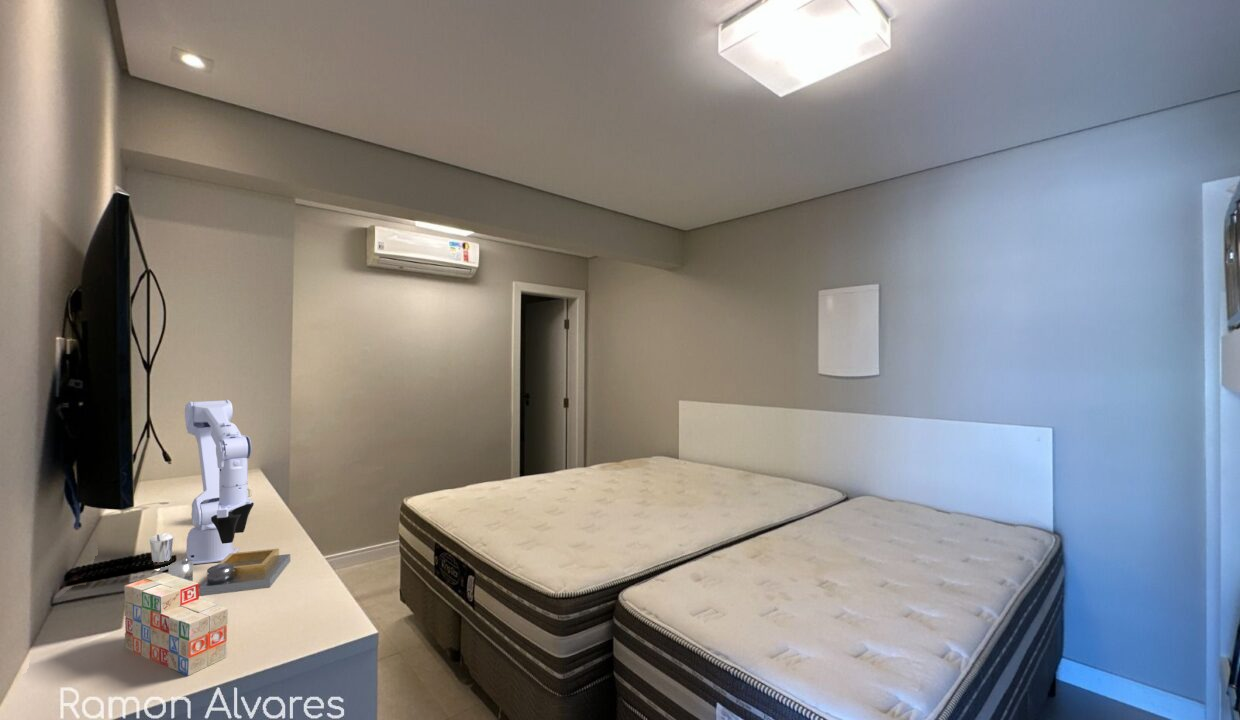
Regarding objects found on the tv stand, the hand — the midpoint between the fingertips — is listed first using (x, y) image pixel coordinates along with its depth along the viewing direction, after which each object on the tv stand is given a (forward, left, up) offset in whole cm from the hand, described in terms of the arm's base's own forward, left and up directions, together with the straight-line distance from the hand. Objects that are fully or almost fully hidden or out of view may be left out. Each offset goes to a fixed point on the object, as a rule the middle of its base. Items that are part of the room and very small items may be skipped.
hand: (233, 537), depth 127 cm
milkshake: (-19, +8, -10) cm, 22 cm away
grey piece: (+4, -4, -9) cm, 11 cm away
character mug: (-17, +46, -10) cm, 50 cm away
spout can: (-9, -6, -9) cm, 14 cm away
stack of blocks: (+4, -37, -10) cm, 38 cm away
